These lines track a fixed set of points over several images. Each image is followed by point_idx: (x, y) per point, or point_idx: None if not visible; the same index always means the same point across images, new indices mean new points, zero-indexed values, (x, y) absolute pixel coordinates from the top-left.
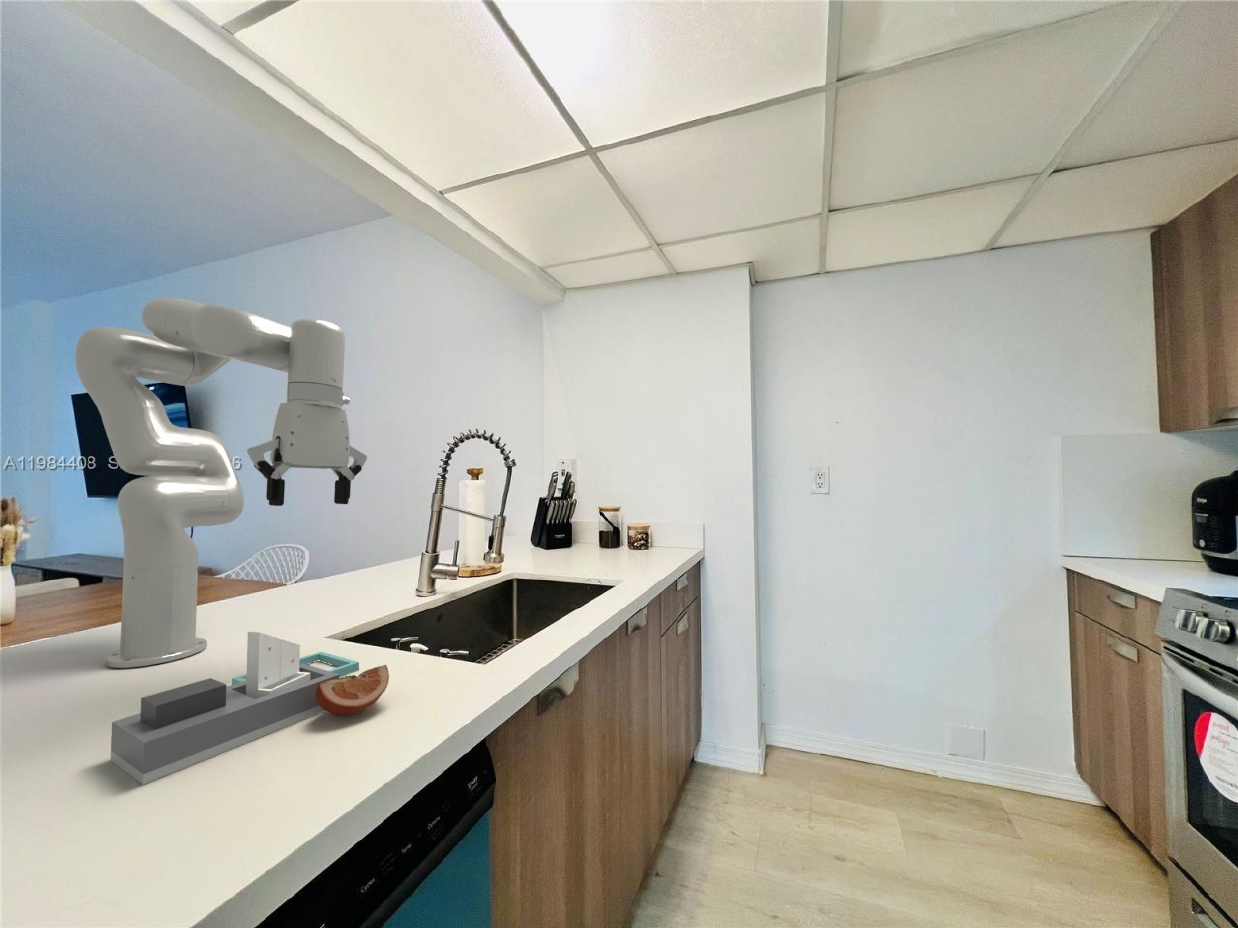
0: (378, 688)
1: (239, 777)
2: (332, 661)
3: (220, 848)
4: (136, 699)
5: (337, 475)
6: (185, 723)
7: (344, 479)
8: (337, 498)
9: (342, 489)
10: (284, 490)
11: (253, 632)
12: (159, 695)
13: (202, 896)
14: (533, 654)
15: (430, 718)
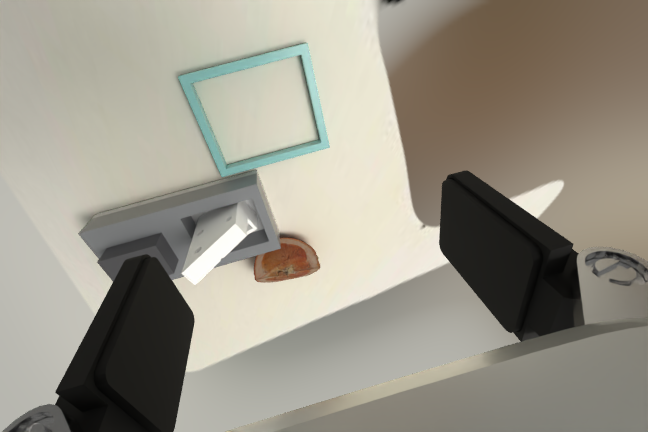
0: (303, 275)
1: (198, 295)
2: (310, 95)
3: (193, 346)
4: (45, 12)
5: (576, 297)
6: None
7: (534, 328)
8: (454, 216)
9: (479, 285)
10: (183, 378)
11: (188, 279)
12: (114, 265)
13: (188, 366)
14: None
15: (324, 294)
